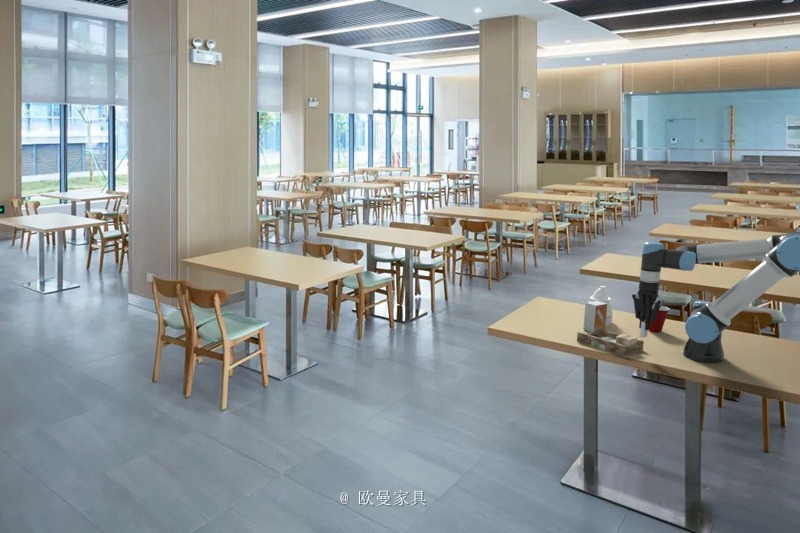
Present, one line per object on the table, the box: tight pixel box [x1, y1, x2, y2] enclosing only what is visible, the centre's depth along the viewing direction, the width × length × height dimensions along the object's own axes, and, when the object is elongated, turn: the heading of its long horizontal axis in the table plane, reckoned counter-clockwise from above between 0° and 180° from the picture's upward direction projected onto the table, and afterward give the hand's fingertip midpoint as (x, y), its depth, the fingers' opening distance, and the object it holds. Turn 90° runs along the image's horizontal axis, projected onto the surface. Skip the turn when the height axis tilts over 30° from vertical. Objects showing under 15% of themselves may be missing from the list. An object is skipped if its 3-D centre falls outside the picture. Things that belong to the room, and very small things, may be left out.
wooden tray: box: [576, 328, 645, 357], centre depth 275 cm, size 24×13×4 cm, turn 37°
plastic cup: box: [648, 303, 671, 334], centre depth 297 cm, size 11×11×12 cm
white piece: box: [588, 285, 614, 326], centre depth 310 cm, size 13×13×18 cm
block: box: [616, 333, 638, 349], centre depth 268 cm, size 6×6×4 cm
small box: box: [583, 301, 607, 333], centre depth 296 cm, size 8×6×13 cm
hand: (643, 336), depth 261 cm, fingers closed
